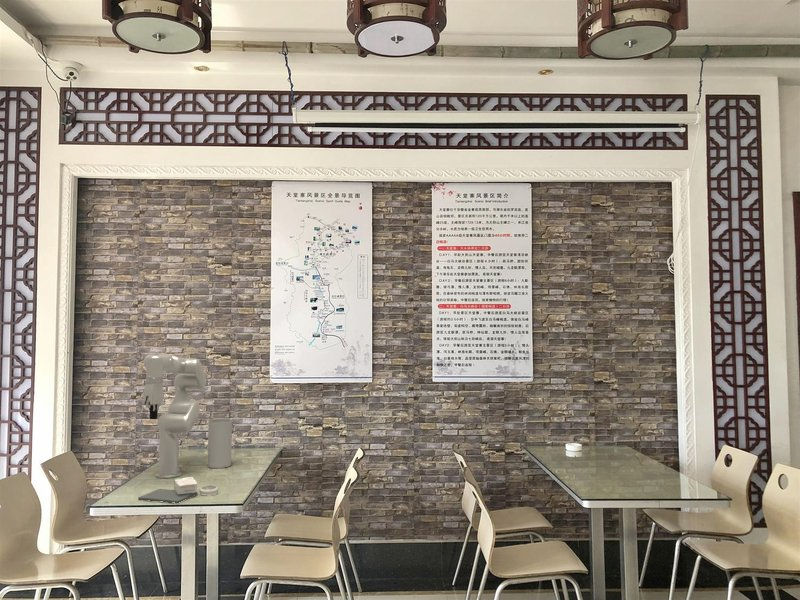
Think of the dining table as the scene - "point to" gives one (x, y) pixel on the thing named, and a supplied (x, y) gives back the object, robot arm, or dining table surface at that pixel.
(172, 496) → the rubber mat
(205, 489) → the white ashtray dish
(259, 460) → the dining table surface
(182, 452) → the dining table surface
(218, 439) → the cylinder vase
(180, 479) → the ink box
